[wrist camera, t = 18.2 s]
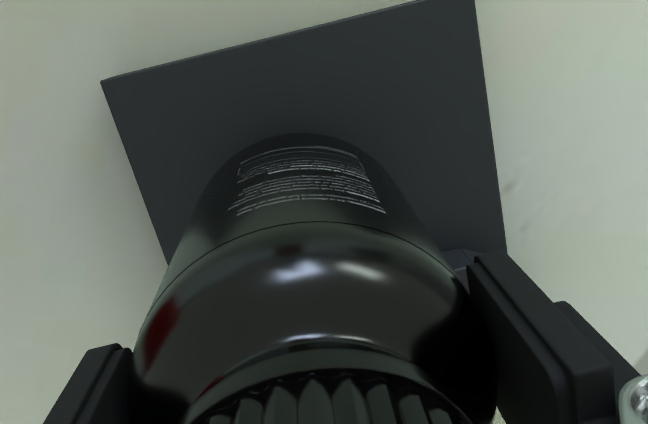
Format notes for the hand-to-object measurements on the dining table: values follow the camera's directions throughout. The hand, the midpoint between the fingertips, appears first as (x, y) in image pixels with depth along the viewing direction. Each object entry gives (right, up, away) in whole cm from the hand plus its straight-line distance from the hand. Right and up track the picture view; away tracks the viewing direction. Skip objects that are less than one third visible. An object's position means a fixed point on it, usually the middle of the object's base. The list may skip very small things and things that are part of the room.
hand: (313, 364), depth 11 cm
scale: (+1, +3, +10) cm, 10 cm away
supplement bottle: (0, +2, +7) cm, 7 cm away
